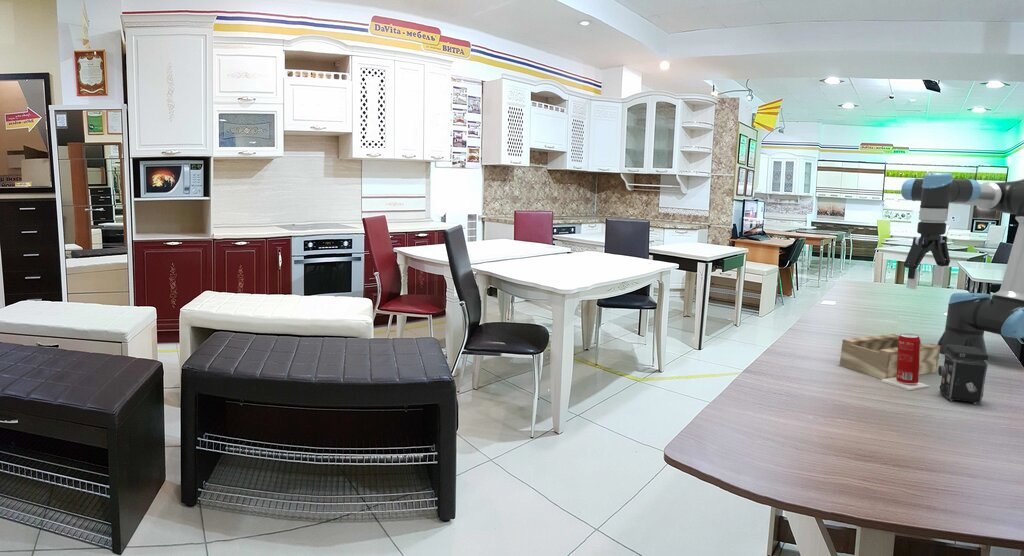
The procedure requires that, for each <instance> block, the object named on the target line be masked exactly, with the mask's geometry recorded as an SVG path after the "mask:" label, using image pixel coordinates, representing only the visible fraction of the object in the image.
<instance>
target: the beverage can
mask: <svg viewBox="0 0 1024 556" xmlns="http://www.w3.org/2000/svg"><path fill="white" fill-rule="evenodd" d="M920 344H921V338H920V335H919V334H915V333H914V334H913V333H901V334H899V338H898V354H897V376H896V380H897V381H898V382H899V383H903V384H917V383H918V382H919V378H920V377H919V360H920Z"/></svg>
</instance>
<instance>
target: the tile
mask: <svg viewBox="0 0 1024 556" xmlns="http://www.w3.org/2000/svg"><path fill="white" fill-rule="evenodd" d="M880 382H882V383H885V384H888V385H892V386H894V387H898V388H902V389H903V390H907V391H914V390H921V389H927V388H929V387H930V385H929V384H926V383H923V382H922V383H921V382H919V381H918V383H917V384H903V383H899V382H898V381H897V380H896V377H894V378H887V379H880Z"/></svg>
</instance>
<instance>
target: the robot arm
mask: <svg viewBox="0 0 1024 556" xmlns="http://www.w3.org/2000/svg"><path fill="white" fill-rule="evenodd" d="M900 193H901V196H902V198H903V199H904V200H906V201H912V202H920V206H919V212H918V214H919V215H918V220H919V221H918V223H917V229H916V232H917V233H918V234H920V237H917V236H914V237H913V239H912V243H911V244H912V245H911V247H910V249H909V251H908V254H907V256H906V258H905V261H904V263H903V266H904V268H906V269H908V271H907V278H906V279H907V281H906V289H910V290H917V289H918V280H919V271H920V269H919V268H918V267H919V265H921V263H922V261H923V259H924V257H925V256H926V254H927V253H930V252H931V255H932V256H933V259H934V262H935V264H936V265H934V268H933V275H932V276H933V277H932V286H938V287H943V283H944V276H945V274H944V273H945V269H946V268H945V267H949V266H950V263H951V259H950V253H949V247H948V243H947V242H948V236H947V235H945V234H946V231H947V223H946V222H947V221H948V214H949V207H950V204H954V205H966V206H974V207H975V206H976V207H977V208H979V209H981V210H989V211H993V212H1000V213H1004V214H1010V215H1015V217H1014V218H1015V220H1016V221H1017V222H1018V227H1017V230H1016V233H1015V237H1014V240H1013V244H1012V247H1011V251H1010V254H1009V257H1008V261H1007V263H1006V267H1005V271H1004V274H1003V277H1002V282H1001V285H1000V289H999V290H998V291H996V292H994V293H993V294H992V295H991V296H990V294H989V293H979V292H977V293H976V292H954V293H952V294H951V295H950V296H949V297H950V298H949V301H948V304H947V305H948V307H947V312H946V313H947V315H946V321H945V326H944V327H945V328H944V332H943V333H942V335H941V337H940V338H939V340H938V342H937V344H936V345H939V346H940V353H941V354H944V355H945V347H946V345H957V346H967V347H975V348H979V349H980V350H982V351H983V352H984V353H986V354H987V353H988V352H987V346H986V341H985V337H984V334H985V332H987V333H991V334H995V335H998V336H999V335H1000V336H1002V337H1005V338H1013V339H1023V338H1024V181H1021V180H1016V181H1015V180H1014V181H1003V182H999V181H998V182H990V181H989V182H984V183H981V184H980V183H979V182H978V181H977V180H976V179H973V178H953V174H952V173H951V172H926V173H925V174H924V175H923V178H909V179H906V180H905V181H904V182H903V184H901V189H900ZM987 355H988V354H987Z"/></svg>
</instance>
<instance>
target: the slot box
mask: <svg viewBox="0 0 1024 556" xmlns="http://www.w3.org/2000/svg"><path fill="white" fill-rule="evenodd" d="M899 336H900V334H899V335H898V334H895V333H891V334H884V335H883V334H882V335H873V336H865V337H863V336H862V337H855V338H854V337H853V338H845V339H844V338H843V339H842V344H841V349H840V350H841V352H840V357H839V358H840V361H839V366H840V367H844V368H847V369H850V370H854V371H856V372H859V373H862V374H865V375H868V376H872V377H875V378H877V379H880V380H881V379H887V378H894V377H896V376H897V354H898V338H899ZM940 353H941V352H940V346H939V345H937V344H934V343H925V344H923V343H920V360H919V375H925V374H932V373H933V374H934V373H938V367H939V365H938V364H939V359H940Z"/></svg>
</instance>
